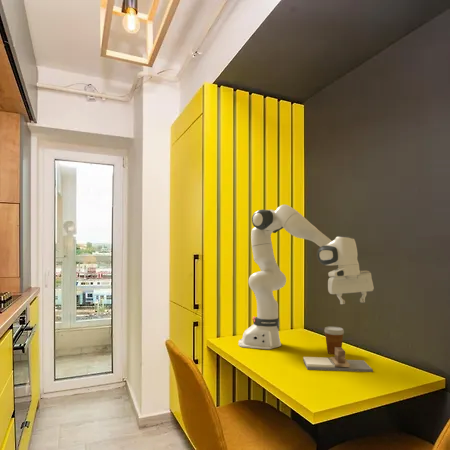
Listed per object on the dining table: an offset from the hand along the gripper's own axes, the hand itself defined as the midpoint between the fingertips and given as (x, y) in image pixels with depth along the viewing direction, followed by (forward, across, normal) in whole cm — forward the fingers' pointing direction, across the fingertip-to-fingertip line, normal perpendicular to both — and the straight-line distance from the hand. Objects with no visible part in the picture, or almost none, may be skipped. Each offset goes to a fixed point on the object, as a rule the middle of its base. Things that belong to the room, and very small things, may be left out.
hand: (352, 303), depth 156 cm
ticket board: (+27, +8, -5) cm, 28 cm away
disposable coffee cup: (+26, +1, -22) cm, 34 cm away
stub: (+26, +7, -4) cm, 27 cm away
